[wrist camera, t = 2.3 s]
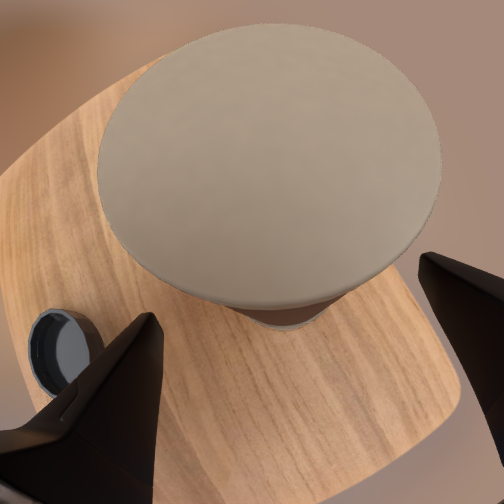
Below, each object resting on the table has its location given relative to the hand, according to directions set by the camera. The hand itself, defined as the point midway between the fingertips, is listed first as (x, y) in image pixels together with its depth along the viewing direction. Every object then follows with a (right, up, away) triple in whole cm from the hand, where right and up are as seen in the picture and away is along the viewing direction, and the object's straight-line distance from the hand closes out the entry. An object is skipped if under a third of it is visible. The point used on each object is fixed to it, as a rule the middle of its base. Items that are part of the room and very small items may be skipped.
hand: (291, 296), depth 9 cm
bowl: (-18, -8, +14) cm, 24 cm away
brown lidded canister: (0, +1, +5) cm, 5 cm away
